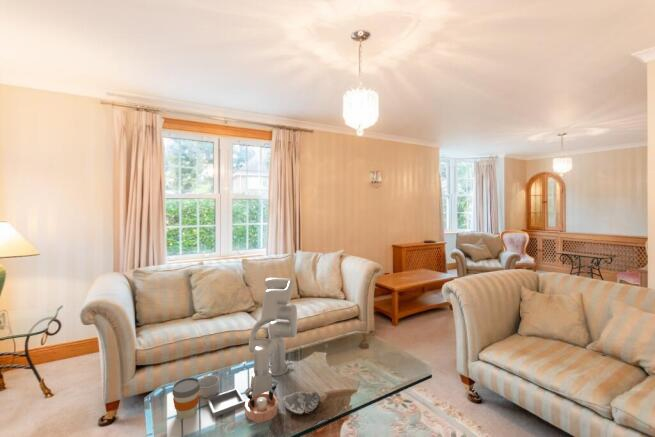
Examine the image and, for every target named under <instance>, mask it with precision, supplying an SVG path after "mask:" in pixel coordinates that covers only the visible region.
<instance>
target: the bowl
mask: <svg viewBox="0 0 655 437" xmlns="http://www.w3.org/2000/svg"><path fill="white" fill-rule="evenodd" d="M260 397H265V398H266V399H267V410H266V411H264V412H257V399H258V398H260ZM254 406H255V407H254V408H253V407H252V406H251V405H250V399H249V398H248V397H247V399H246V400H245V406H244V414H245V416H246V417H247V419H248V420H250V421H253V422H254V423H266V422H267V421H271V420H273V418H275V416H276V415H277V414H278V412H277V411H279V410H278V409H279V399H278V397H277V396H276V394H274V393H273V400H272V401H271V400H270V398H269V391H268V392H265V393H262V394H259V395H256V396H255V398H254Z"/></svg>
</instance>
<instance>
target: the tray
mask: <svg viewBox="0 0 655 437" xmlns="http://www.w3.org/2000/svg"><path fill="white" fill-rule="evenodd" d="M206 404H207V406H208V409H209V411H210V413H211V416H212V418H216V417H218V416H222V415H223V414H226V413H230V412H233V411H235V410H238V409H240V408H243V407H245V404H246V400H245V398H244V397H243V395H242V394H241V392H240V390H239V388H237V387H235V388H233V389H230V390H227V391H224V392H221V393H217V394H216V395H214V396H212V397H209V398H206Z"/></svg>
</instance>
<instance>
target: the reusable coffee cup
mask: <svg viewBox="0 0 655 437" xmlns="http://www.w3.org/2000/svg"><path fill="white" fill-rule="evenodd" d="M199 381H200V380H199V379H198V378H196V377H185V378H182V379H180V380H178V381H176V382H175V383H174V384H173V386H172V392H171V393H172V396H173V404H174V406H173V407H174V409H175V411H176V416H177V418H178V419H179V420H185V419H188V418H191V417H193V416H194V415H195V414H196V413H197V411H198V404H199V401H200V392H199V389H200V383H199Z"/></svg>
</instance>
